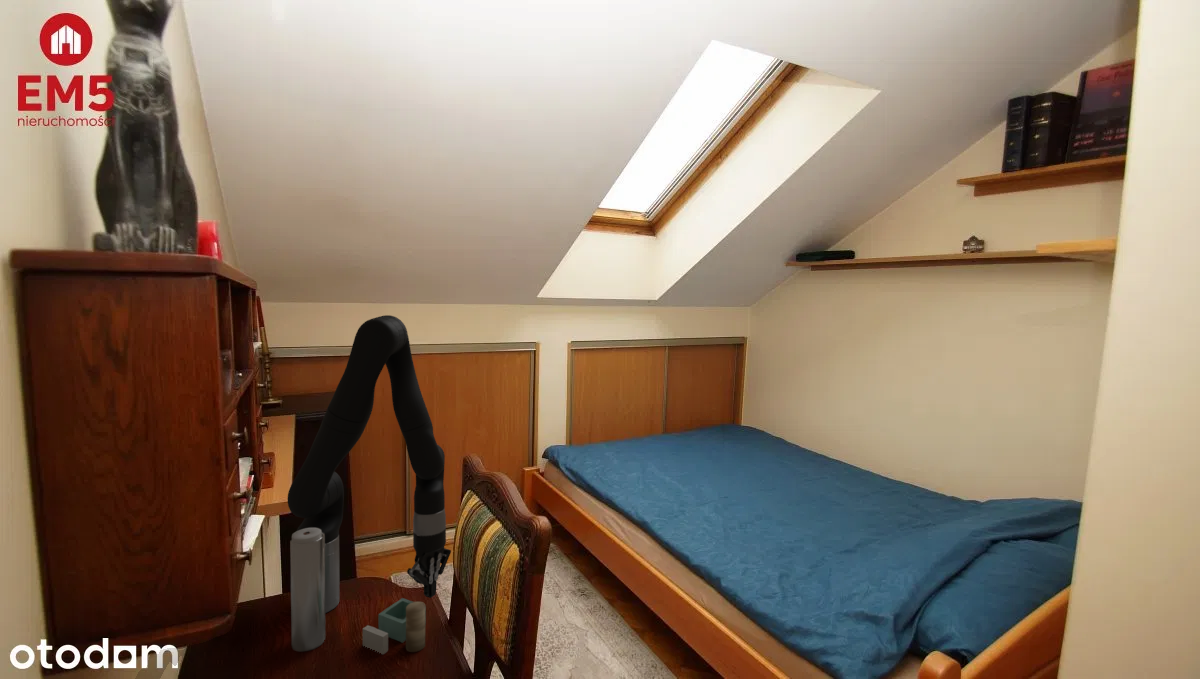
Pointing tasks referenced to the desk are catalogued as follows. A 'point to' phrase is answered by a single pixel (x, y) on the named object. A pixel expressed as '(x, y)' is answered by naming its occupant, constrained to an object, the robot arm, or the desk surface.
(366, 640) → the grey flat slab
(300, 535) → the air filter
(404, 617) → the grey-green open box
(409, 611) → the dowel
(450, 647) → the desk surface
